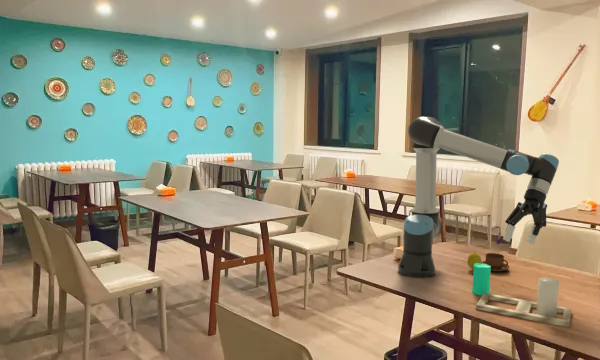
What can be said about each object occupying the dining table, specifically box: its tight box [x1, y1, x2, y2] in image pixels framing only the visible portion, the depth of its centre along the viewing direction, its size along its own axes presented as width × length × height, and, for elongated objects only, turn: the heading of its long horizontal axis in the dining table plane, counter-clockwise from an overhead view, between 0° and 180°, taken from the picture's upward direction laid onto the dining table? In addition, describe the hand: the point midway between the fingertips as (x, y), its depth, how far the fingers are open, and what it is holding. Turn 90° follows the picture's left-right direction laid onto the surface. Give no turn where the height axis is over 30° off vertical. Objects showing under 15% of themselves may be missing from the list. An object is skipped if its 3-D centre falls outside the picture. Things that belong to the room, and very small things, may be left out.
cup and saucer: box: [481, 252, 510, 272], centre depth 218 cm, size 12×12×6 cm
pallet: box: [475, 292, 572, 328], centre depth 171 cm, size 28×14×2 cm, turn 60°
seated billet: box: [535, 277, 560, 318], centre depth 167 cm, size 6×6×12 cm
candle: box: [471, 260, 492, 296], centre depth 188 cm, size 6×6×12 cm
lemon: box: [467, 251, 482, 271], centre depth 215 cm, size 6×6×8 cm
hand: (517, 241), depth 194 cm, fingers open, 13 cm apart
